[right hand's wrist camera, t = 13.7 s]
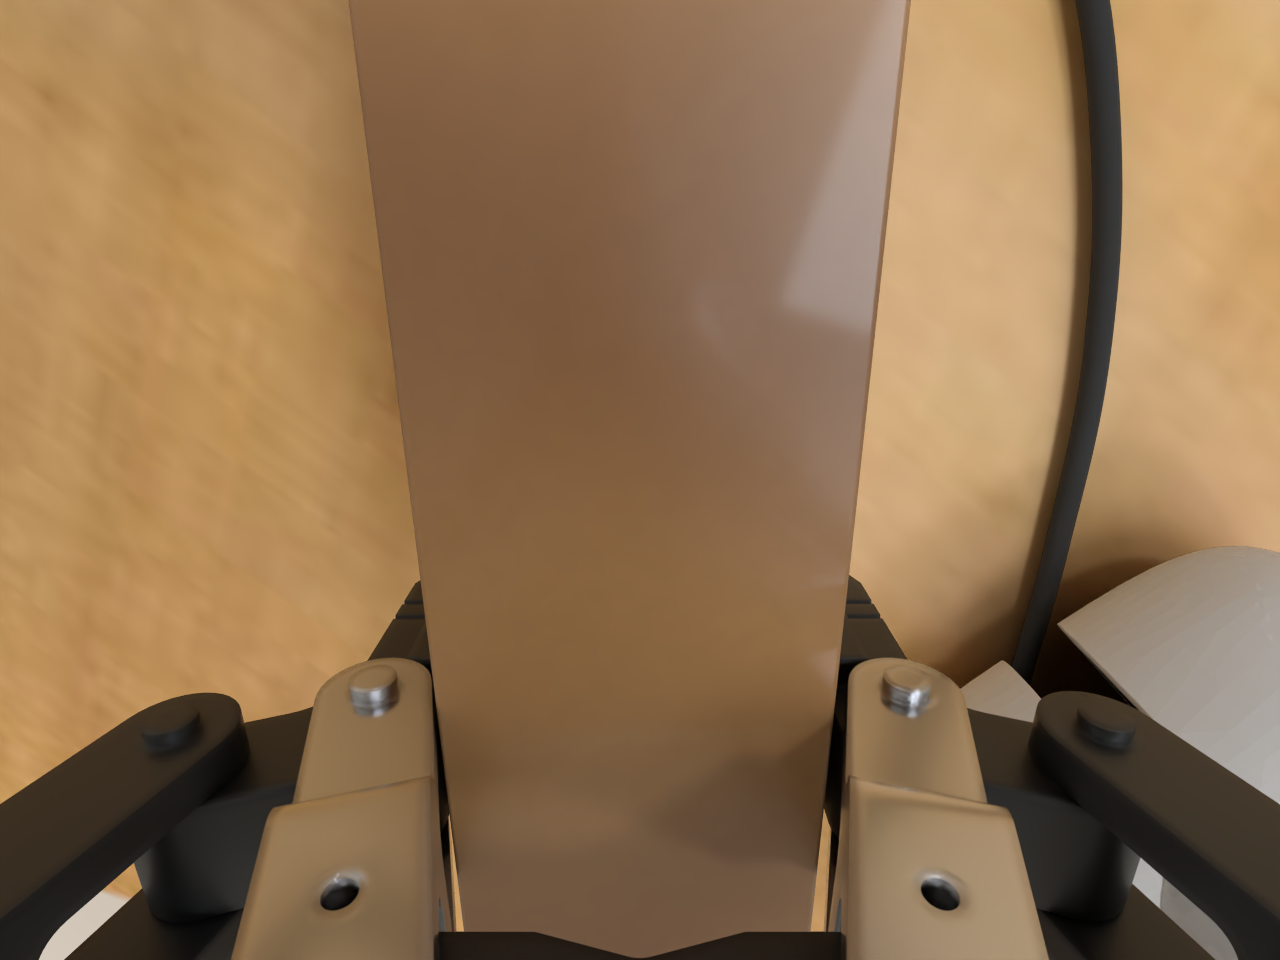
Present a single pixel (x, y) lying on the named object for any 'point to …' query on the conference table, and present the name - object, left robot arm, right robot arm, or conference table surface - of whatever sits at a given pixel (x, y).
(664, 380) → the post
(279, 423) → the conference table surface
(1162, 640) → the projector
